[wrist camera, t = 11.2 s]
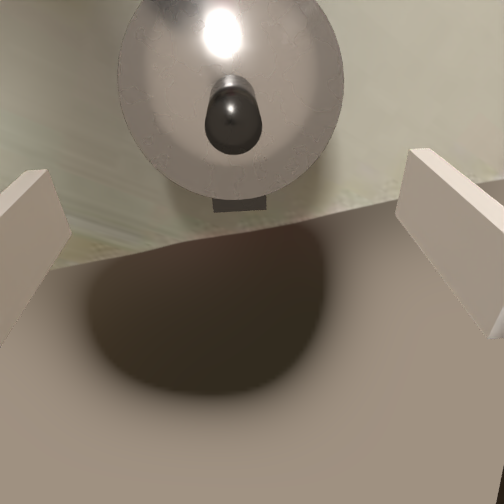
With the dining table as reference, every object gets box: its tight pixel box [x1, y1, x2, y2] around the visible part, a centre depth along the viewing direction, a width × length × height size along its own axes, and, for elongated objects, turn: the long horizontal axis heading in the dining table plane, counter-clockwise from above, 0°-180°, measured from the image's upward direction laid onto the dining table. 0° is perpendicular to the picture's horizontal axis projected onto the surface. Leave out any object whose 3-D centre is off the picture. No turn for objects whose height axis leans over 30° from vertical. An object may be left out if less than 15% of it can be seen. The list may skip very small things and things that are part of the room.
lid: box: [118, 0, 344, 200], centre depth 26 cm, size 17×17×10 cm
